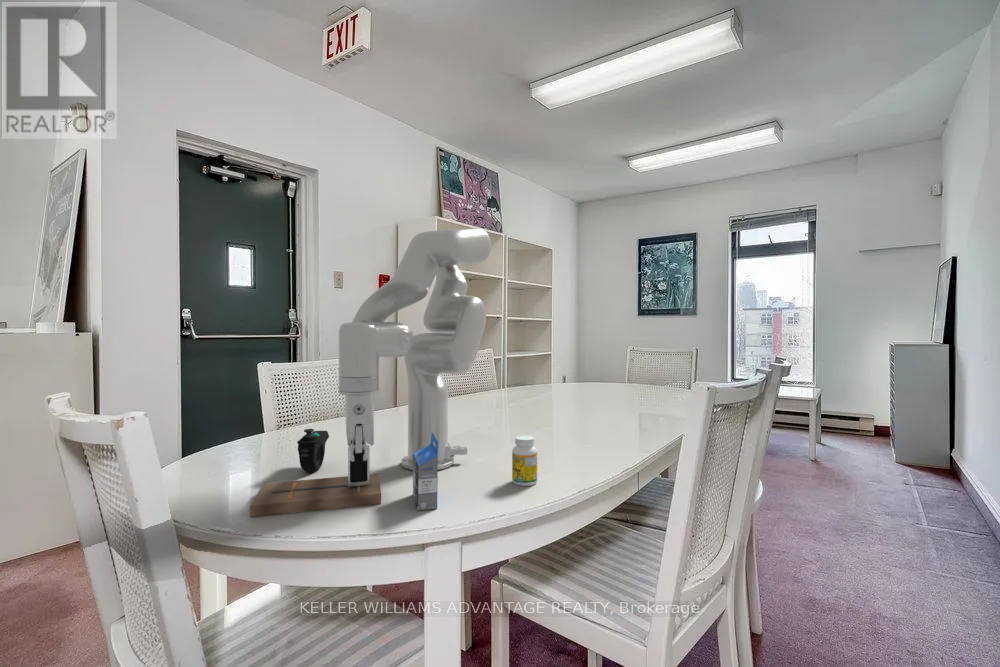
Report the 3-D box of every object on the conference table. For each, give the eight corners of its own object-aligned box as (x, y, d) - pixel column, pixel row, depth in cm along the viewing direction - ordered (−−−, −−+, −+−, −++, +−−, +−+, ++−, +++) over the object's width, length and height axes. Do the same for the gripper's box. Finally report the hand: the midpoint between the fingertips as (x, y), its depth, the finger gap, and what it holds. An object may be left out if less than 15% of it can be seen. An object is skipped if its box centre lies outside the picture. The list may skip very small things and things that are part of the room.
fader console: (378, 483, 98) (378, 473, 98) (381, 503, 86) (381, 492, 86) (263, 493, 91) (263, 482, 91) (249, 517, 80) (249, 505, 80)
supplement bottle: (541, 484, 97) (542, 439, 97) (519, 488, 95) (519, 441, 95) (529, 477, 102) (529, 433, 102) (507, 480, 100) (508, 436, 100)
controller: (294, 478, 101) (294, 432, 100) (312, 461, 113) (313, 421, 113) (314, 477, 101) (314, 432, 101) (330, 461, 113) (331, 421, 113)
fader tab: (369, 479, 93) (369, 445, 93) (369, 484, 90) (369, 449, 90) (348, 481, 92) (348, 446, 91) (347, 486, 89) (347, 450, 89)
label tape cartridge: (411, 494, 91) (412, 432, 91) (431, 492, 92) (431, 431, 92) (417, 511, 83) (417, 443, 83) (438, 509, 84) (439, 441, 84)
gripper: (380, 390, 84) (380, 490, 84) (377, 380, 99) (376, 465, 100) (336, 391, 82) (336, 494, 82) (340, 381, 97) (340, 468, 97)
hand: (358, 477), depth 91 cm, fingers closed on fader tab, 3 cm apart
